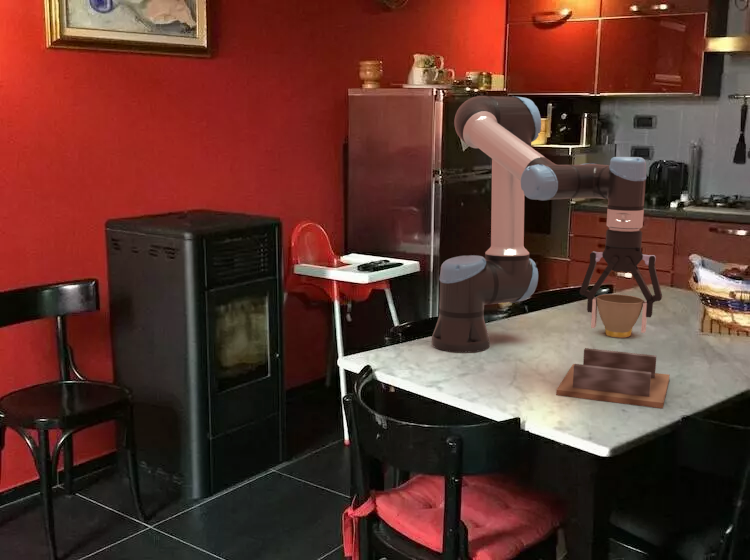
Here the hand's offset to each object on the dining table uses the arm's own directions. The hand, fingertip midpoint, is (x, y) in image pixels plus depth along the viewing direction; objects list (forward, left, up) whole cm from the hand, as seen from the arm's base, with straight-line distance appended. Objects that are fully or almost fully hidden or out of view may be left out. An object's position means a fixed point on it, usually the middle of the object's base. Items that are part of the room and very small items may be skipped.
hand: (618, 329), depth 189 cm
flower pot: (0, 0, 0) cm, 0 cm away
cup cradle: (0, 0, -13) cm, 13 cm away
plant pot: (-5, +50, -14) cm, 52 cm away
